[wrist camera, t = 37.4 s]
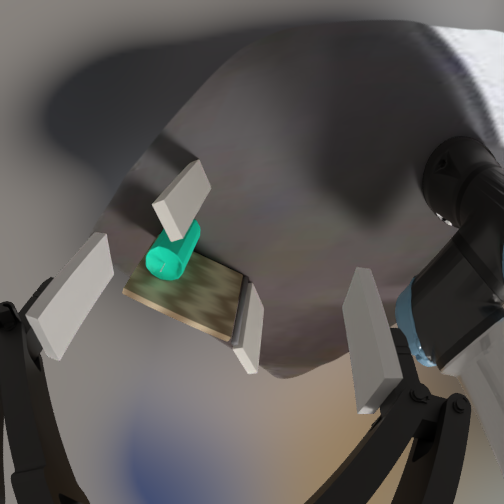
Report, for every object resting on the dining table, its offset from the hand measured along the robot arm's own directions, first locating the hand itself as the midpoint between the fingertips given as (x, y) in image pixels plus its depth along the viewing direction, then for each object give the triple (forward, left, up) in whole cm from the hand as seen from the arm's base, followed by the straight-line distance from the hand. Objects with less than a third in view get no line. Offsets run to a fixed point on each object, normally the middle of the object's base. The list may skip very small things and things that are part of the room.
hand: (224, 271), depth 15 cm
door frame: (+11, +15, -32) cm, 37 cm away
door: (+18, +17, -31) cm, 40 cm away
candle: (+18, +10, -32) cm, 38 cm away
